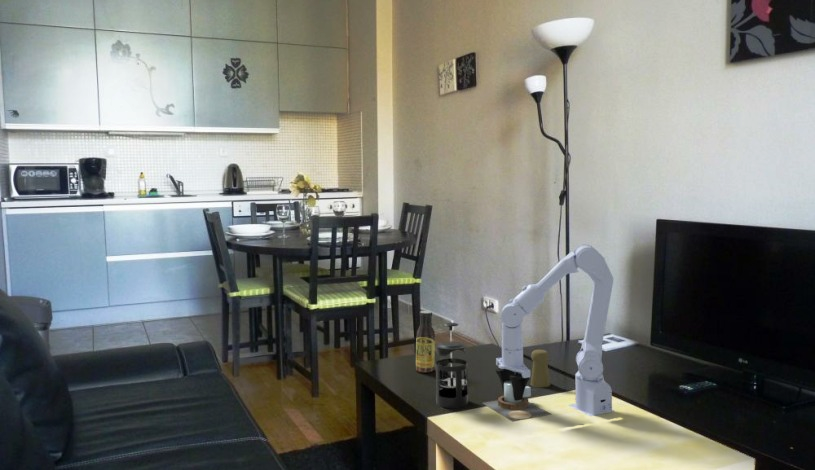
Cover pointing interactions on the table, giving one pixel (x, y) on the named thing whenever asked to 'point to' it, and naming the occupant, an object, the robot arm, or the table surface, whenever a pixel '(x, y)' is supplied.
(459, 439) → the table surface
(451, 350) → the french press
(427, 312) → the sauce bottle
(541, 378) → the pepper shaker
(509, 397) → the white ceramic mug
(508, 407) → the board
